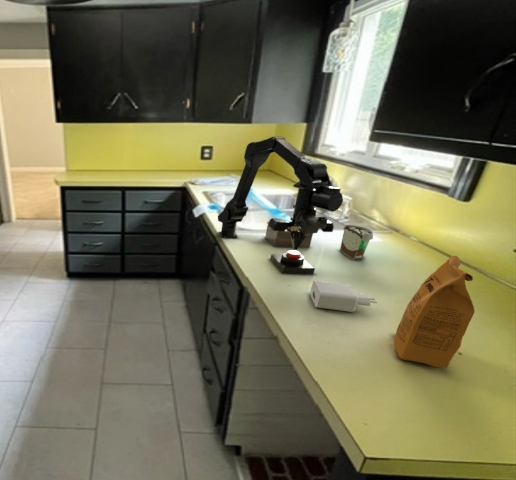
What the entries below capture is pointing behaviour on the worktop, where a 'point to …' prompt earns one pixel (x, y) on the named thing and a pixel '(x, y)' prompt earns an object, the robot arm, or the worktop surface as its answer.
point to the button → (293, 254)
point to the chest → (284, 239)
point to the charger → (337, 296)
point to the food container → (355, 241)
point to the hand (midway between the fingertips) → (294, 249)
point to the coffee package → (436, 317)
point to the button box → (292, 264)
